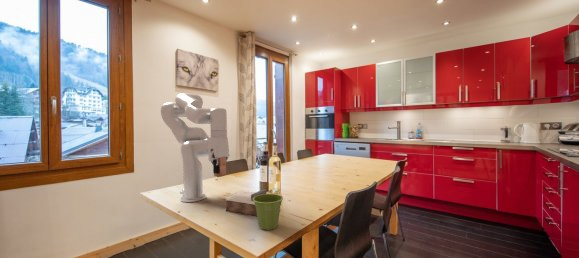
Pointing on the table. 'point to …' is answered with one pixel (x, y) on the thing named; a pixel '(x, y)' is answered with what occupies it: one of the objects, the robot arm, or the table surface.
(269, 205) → the plant pot
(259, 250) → the table surface
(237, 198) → the toolbox lid
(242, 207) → the toolbox
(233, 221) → the table surface
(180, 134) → the robot arm
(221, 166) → the salmon orange block
